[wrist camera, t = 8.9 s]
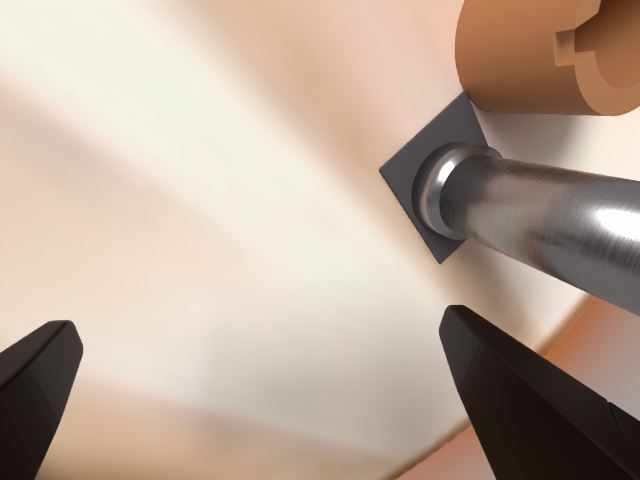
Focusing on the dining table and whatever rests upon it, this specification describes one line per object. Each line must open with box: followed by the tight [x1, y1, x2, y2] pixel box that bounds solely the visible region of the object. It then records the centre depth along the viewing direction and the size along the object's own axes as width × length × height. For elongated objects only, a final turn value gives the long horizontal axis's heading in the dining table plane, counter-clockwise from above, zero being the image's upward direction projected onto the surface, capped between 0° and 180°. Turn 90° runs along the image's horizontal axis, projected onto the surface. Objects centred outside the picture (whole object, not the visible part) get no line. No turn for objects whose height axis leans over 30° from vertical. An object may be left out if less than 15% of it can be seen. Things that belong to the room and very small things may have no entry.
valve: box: [411, 142, 640, 316], centre depth 16 cm, size 6×6×15 cm
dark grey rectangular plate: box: [379, 91, 488, 264], centre depth 23 cm, size 7×9×1 cm
